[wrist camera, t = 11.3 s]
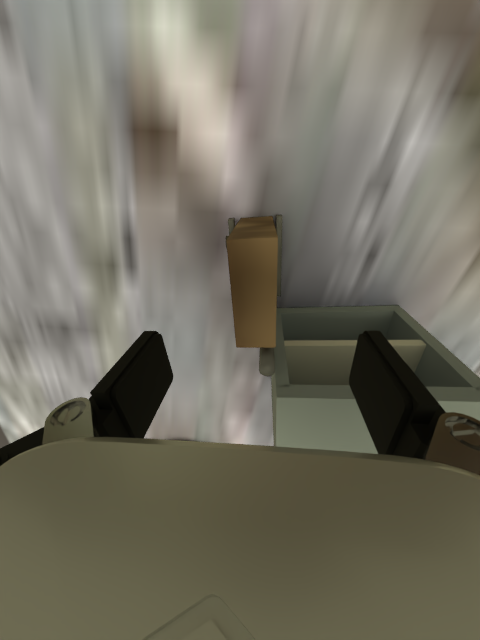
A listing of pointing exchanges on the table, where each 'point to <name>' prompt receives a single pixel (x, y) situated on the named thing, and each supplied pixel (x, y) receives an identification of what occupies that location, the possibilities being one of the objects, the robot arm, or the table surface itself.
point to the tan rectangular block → (254, 281)
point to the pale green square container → (348, 370)
